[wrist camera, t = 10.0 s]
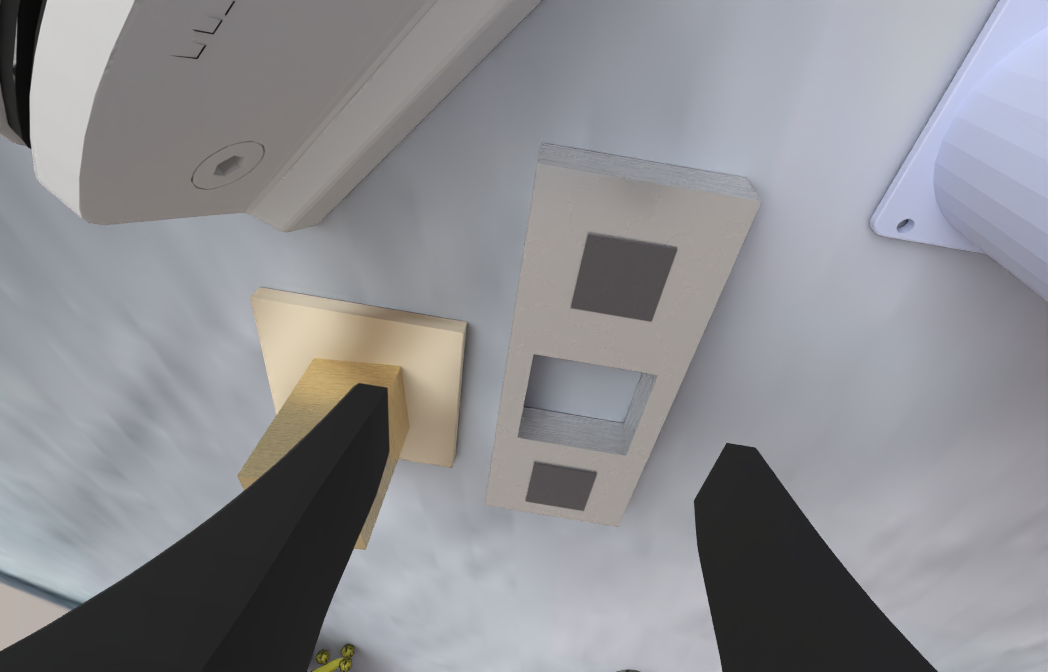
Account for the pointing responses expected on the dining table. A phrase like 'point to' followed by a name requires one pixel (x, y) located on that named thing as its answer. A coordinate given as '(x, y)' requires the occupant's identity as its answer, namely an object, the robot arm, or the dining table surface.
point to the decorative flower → (335, 660)
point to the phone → (628, 671)
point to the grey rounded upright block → (228, 97)
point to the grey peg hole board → (609, 317)
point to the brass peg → (314, 402)
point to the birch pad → (370, 358)
